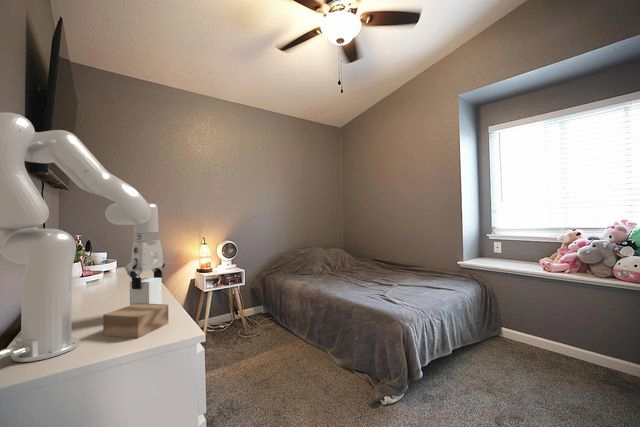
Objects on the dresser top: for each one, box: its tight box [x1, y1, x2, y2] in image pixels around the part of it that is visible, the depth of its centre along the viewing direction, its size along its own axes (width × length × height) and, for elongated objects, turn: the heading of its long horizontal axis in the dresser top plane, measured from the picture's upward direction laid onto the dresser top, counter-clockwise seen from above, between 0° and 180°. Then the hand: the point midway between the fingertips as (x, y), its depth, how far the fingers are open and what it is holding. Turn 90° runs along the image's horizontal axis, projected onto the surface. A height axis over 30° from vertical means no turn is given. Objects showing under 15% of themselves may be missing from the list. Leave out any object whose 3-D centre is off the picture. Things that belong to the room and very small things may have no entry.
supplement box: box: [129, 277, 163, 306], centre depth 102 cm, size 7×7×13 cm
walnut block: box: [102, 303, 169, 339], centre depth 89 cm, size 12×12×6 cm
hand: (147, 285), depth 103 cm, fingers open, 9 cm apart
